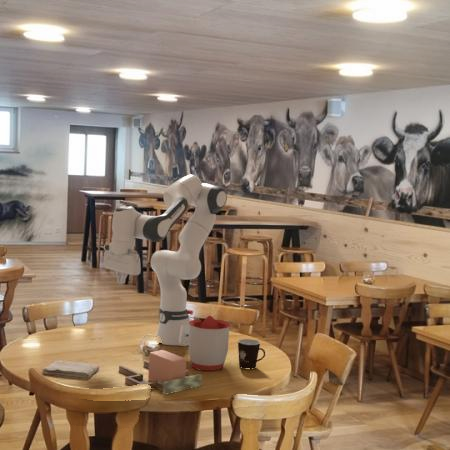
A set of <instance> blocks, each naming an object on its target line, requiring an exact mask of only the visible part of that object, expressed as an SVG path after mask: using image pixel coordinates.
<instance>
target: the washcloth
mask: <svg viewBox="0 0 450 450" xmlns="http://www.w3.org/2000/svg"><path fill="white" fill-rule="evenodd" d="M99 369H100V366H99V365H98V364H95V363H86V362H78V361H69V360H60V359H58V360H54V361H52V362H51V363H50V364H48V365H47V366H45V367H43V368H42V374H45V375H48V376H49V375H50V376H57V377H64V378H65V377H66V378H73V379H74V378H75V379H81V380H87V379H90V378H91V377H92V375H94V374H96V373H97V372H98V371H99Z"/></svg>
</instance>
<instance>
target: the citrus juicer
mask: <svg viewBox="0 0 450 450" xmlns="http://www.w3.org/2000/svg"><path fill="white" fill-rule="evenodd" d="M191 320H192V321H190V322H189V324H190V331H189V345H188V353H189V358H190V360H189V361H190V363H191V366H192V367H193V368H195V369H196V370H198V369H200V370H199V371H219V370H221V369H222V368H223V367H224V365H225V362H226V358H227V355H228V350H229V338H230V336H229V335H230V326H231V323H229V322H228V321H224V320H221V319H216V318H214V317H213V316H212V315H208V316H206V318H205V319H204V320H203V321H202V320H201V319H200V318H199V319H191Z"/></svg>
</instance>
